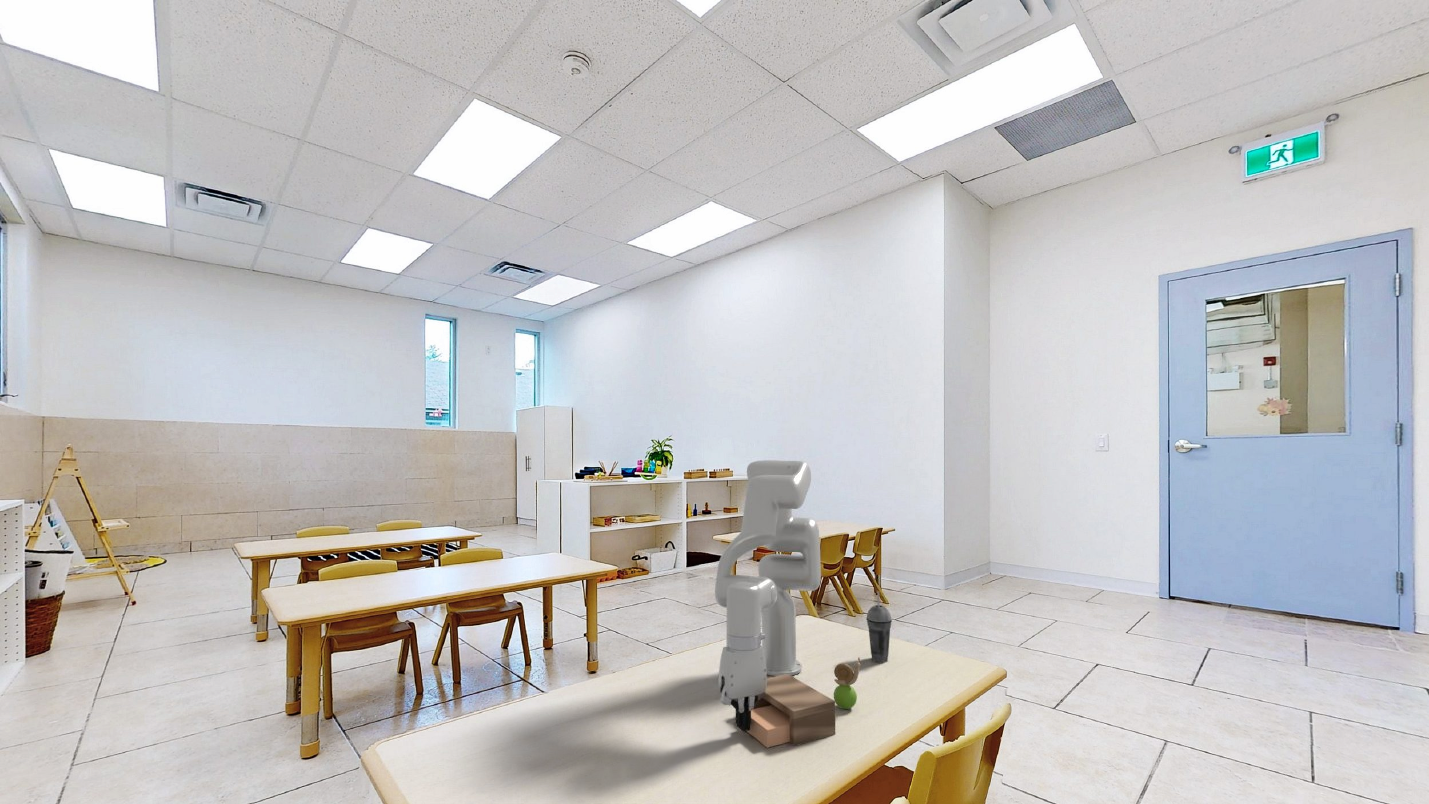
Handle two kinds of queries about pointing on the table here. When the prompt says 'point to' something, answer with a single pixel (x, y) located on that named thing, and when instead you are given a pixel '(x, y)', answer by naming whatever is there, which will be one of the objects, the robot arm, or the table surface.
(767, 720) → the peach tile
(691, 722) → the table surface
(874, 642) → the beverage cup
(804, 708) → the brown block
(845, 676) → the snail figurine
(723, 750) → the table surface
